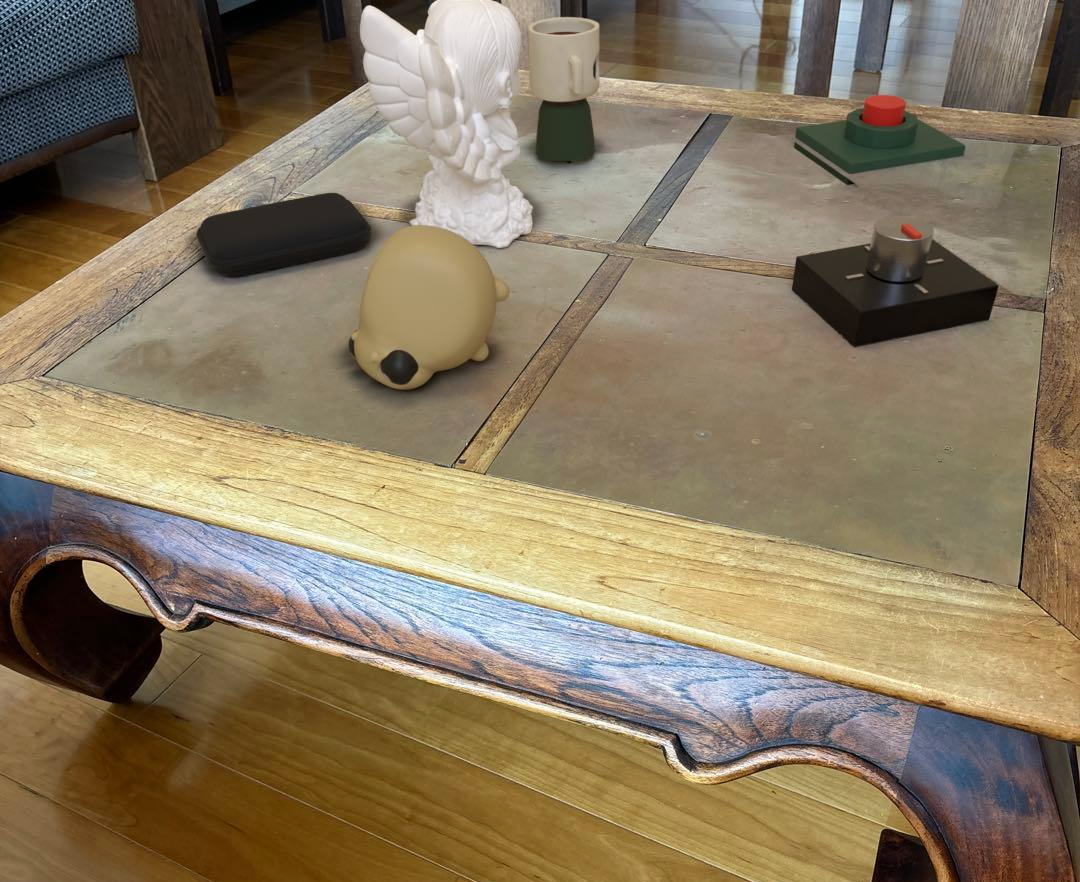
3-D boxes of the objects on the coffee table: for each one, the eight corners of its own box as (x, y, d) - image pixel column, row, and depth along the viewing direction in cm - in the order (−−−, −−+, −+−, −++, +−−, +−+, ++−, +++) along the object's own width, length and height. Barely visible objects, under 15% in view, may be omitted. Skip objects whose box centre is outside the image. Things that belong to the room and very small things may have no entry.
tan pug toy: (404, 379, 83) (296, 329, 75) (478, 247, 81) (375, 182, 73) (466, 431, 77) (355, 383, 69) (548, 290, 74) (443, 223, 67)
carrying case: (346, 210, 100) (194, 240, 96) (341, 179, 98) (186, 209, 94) (379, 252, 93) (216, 287, 88) (374, 220, 91) (208, 254, 87)
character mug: (612, 172, 105) (615, 36, 97) (546, 181, 104) (542, 44, 96) (583, 137, 114) (583, 8, 105) (521, 144, 112) (515, 15, 104)
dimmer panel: (917, 266, 88) (925, 231, 86) (989, 320, 80) (1000, 283, 78) (791, 289, 85) (796, 254, 83) (854, 347, 78) (861, 310, 76)
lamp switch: (900, 131, 112) (907, 93, 109) (960, 167, 104) (970, 127, 101) (793, 148, 109) (798, 109, 107) (847, 185, 101) (854, 145, 99)
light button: (888, 113, 106) (892, 92, 105) (910, 125, 103) (914, 104, 102) (853, 118, 105) (857, 97, 104) (874, 131, 102) (878, 110, 101)
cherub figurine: (565, 238, 94) (562, -2, 81) (445, 274, 89) (421, 26, 76) (494, 192, 102) (481, -32, 89) (381, 223, 98) (349, -9, 85)
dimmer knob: (856, 261, 82) (864, 215, 80) (906, 254, 83) (916, 208, 80) (882, 285, 79) (892, 239, 76) (934, 278, 80) (946, 231, 77)
